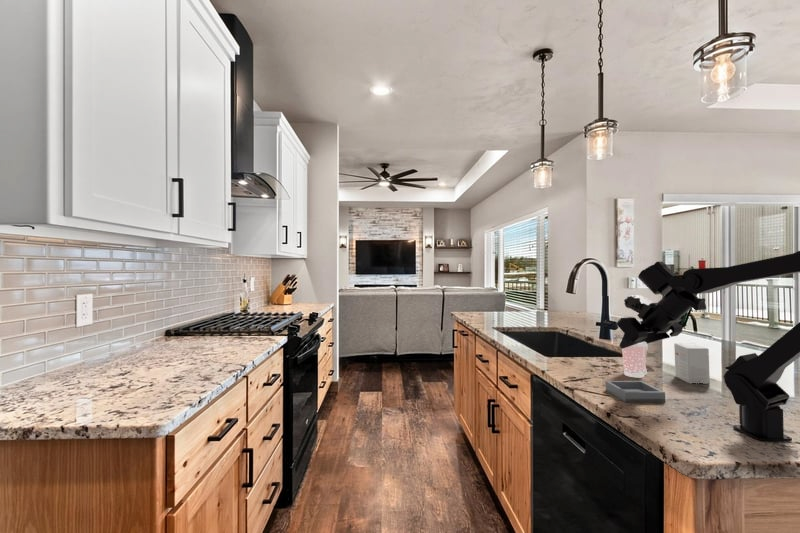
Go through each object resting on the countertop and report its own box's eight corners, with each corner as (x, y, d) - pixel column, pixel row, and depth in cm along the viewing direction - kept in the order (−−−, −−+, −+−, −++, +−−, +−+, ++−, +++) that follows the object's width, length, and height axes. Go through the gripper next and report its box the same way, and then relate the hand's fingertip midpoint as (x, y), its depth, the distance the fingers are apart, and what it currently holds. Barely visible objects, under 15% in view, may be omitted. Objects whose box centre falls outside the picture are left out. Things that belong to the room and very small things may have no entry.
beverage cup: (631, 371, 106) (630, 321, 107) (653, 376, 101) (651, 323, 101) (615, 373, 104) (614, 322, 104) (637, 379, 98) (635, 325, 99)
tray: (665, 402, 97) (665, 392, 97) (625, 402, 98) (625, 392, 98) (642, 389, 107) (641, 380, 107) (605, 389, 108) (605, 381, 108)
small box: (710, 384, 111) (709, 348, 111) (688, 383, 112) (687, 348, 112) (694, 377, 119) (694, 343, 119) (674, 376, 120) (674, 342, 120)
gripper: (668, 283, 103) (630, 320, 113) (622, 286, 95) (586, 325, 105) (702, 315, 96) (658, 351, 106) (656, 320, 88) (613, 359, 98)
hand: (628, 346), depth 104 cm, fingers closed on beverage cup, 6 cm apart
